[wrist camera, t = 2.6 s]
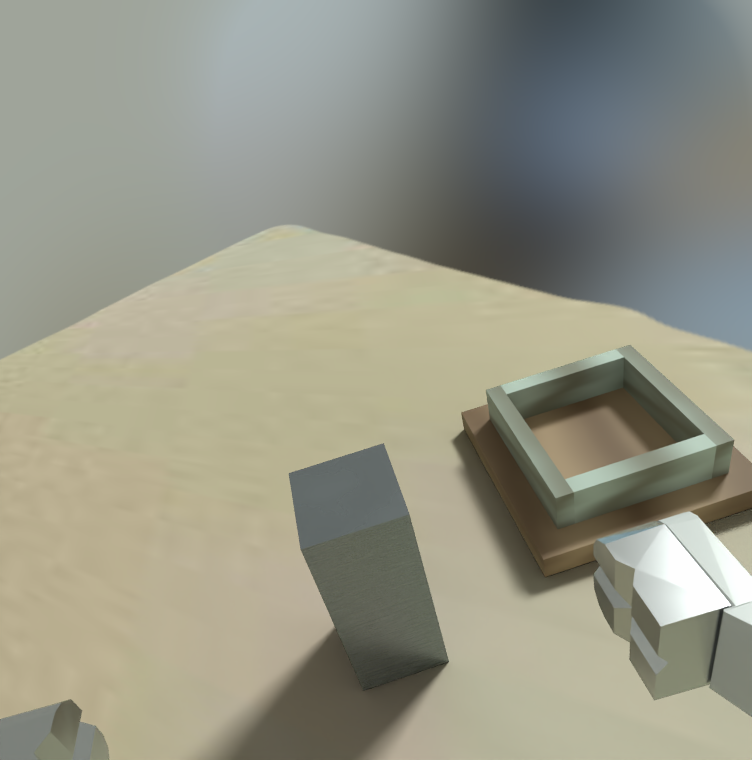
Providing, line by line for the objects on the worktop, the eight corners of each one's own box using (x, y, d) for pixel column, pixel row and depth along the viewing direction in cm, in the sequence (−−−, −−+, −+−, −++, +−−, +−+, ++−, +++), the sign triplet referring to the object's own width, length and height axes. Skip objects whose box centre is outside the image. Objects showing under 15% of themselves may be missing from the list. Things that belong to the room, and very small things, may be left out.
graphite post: (363, 690, 30) (300, 549, 24) (347, 614, 34) (288, 473, 28) (448, 661, 31) (409, 514, 24) (423, 588, 34) (383, 443, 28)
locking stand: (545, 577, 33) (541, 528, 31) (464, 428, 44) (456, 384, 41) (769, 502, 34) (781, 449, 32) (636, 373, 45) (638, 327, 42)
